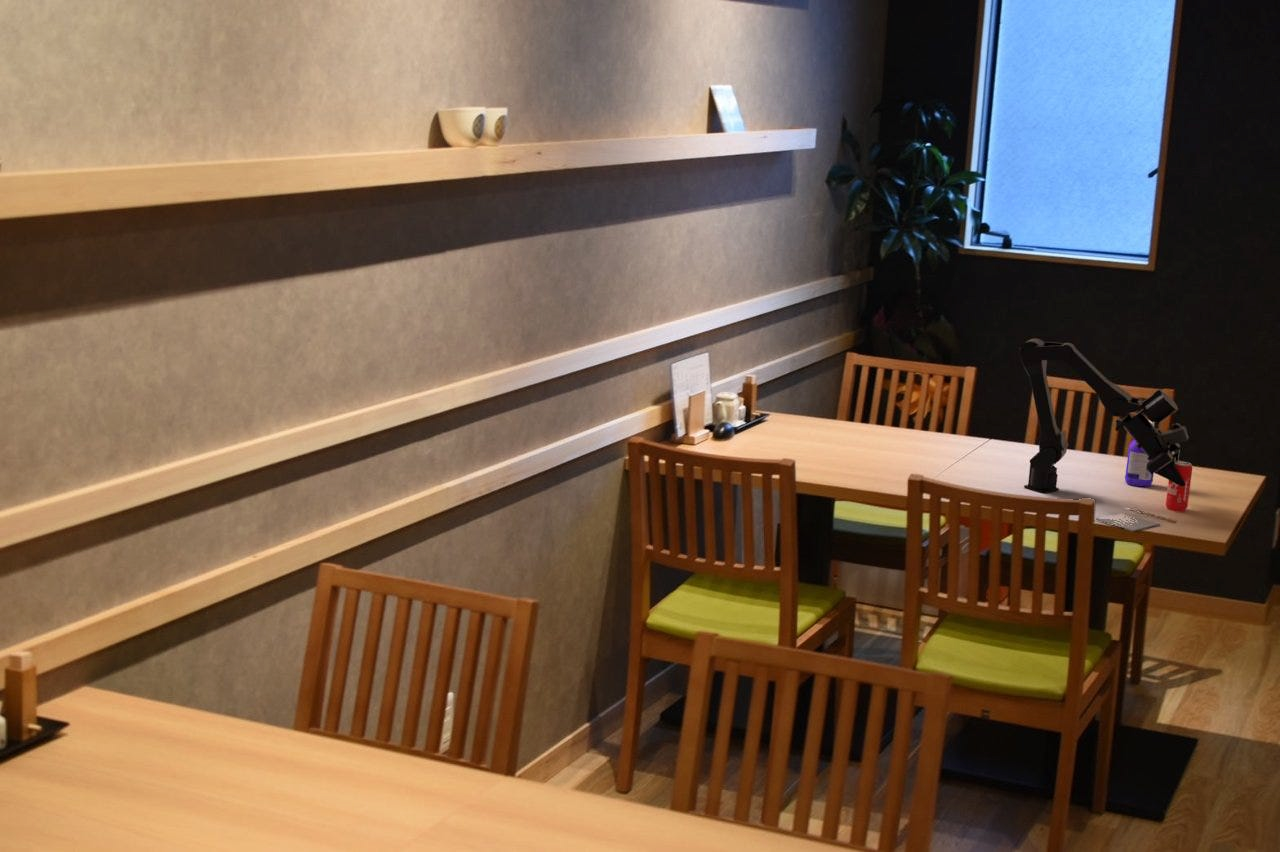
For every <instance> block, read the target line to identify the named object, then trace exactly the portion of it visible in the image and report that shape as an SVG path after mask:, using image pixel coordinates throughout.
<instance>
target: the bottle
mask: <svg viewBox="0 0 1280 852" xmlns="http://www.w3.org/2000/svg"><path fill="white" fill-rule="evenodd" d="M1148 420H1149V419H1148ZM1149 422H1150V423H1151V424H1152V425H1153V426H1154V427H1155V422H1151V421H1150V420H1149ZM1132 439H1133V438H1132ZM1147 458H1148V456H1147V455H1146V453H1145V452H1144V451H1143V450H1142V449H1141V448H1140V449H1139V448H1138V447H1137V443H1136V441H1135V440H1134V439H1133V440H1132V441H1131V442H1130V444H1129V446H1128V453H1127V459H1126V467H1125V468H1126V469H1125V476H1124V479H1125V483H1126V484H1127V485H1129V486H1135V485H1136V487H1142V486H1145V488H1148V487H1150V486H1151V485H1152V483H1153V481H1154V475H1155V472H1154V473H1153V474H1151V473H1150V472H1149V471H1148V470H1147V469H1146V468H1147V463H1148V461H1149V460H1148V459H1147Z"/></svg>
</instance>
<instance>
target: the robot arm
mask: <svg viewBox="0 0 1280 852" xmlns="http://www.w3.org/2000/svg"><path fill="white" fill-rule="evenodd" d="M1018 355H1019V358H1020V361H1021V363H1022V365H1023V368H1024V371H1026V373H1027V376H1028V378H1029V381H1030V382H1029V383H1030V385H1031V391H1032V396H1033V400H1034V406H1035V410H1036V415H1037V420H1038V426H1039V438H1038V439H1039V440H1038V441H1039V442H1038V449H1039V450H1038V452H1037V453H1036V454H1035V455H1034V456H1032V458H1030V459H1029V473H1028V481H1027V482H1028V483H1027V484H1026V485H1025V484H1024V485H1023V488H1025V489H1029V490H1032V491H1036V492H1039V493H1044V494H1045V493H1051V492H1054V491H1059V489H1060V488H1059V487H1057V483H1058V472H1057V470H1058V467H1056V464H1057V463H1058V462H1060V460H1061V459H1062V458H1063V457H1064V456H1065V455H1066V454H1067V451H1068V447H1069V445H1070V444H1069V443H1068V441H1067V440H1068V439H1067V432H1066V430H1063V431H1061V430H1060V429H1059V426H1058V425H1057V421H1056V417H1055V411H1054V406H1053V401H1052V396H1051V390H1050V387H1049V381H1048V375H1047V366H1048V365H1047V364H1048V361H1055V360H1063V361H1064V363H1066V365H1068V366H1069V367H1070V368H1071V369H1072V370H1073V372H1075V373H1076V374H1077V375H1078V376H1079V377H1080V379H1082V380H1083V381H1084V382H1085V383H1086V384H1087V385H1088V386H1089V387H1090V388H1091V389H1092V391H1094V392H1095V393H1096V395H1097V397H1098V398H1099V401H1100V402H1101V404H1102V405H1103V407H1104V408H1105V410H1106V411H1107V412H1108V414H1109V415H1111V416H1112V417H1116V418H1117V417H1119V418H1117V419H1116V420H1115V429H1114V430H1115V431H1116V432H1118V431H1120V430H1121V429H1122V428H1124V430H1125V431H1126V432H1127V434H1128V435H1129V436H1130V437H1132V439H1134V440H1135V441H1136V443H1137V447H1138V448H1139V449H1140V448H1141V449H1142V450H1143V451H1144V452H1145V453H1146V455H1147V456H1148V458H1147V459H1148V460H1149V461H1148V463H1147V468H1146V469H1147V470H1148V471H1149V472H1150V473H1151V474H1153V473H1154V475H1155V474H1156V475H1158V476H1160V477H1163V478H1165V479H1166V480H1167V481H1169V480H1170V481H1172V482H1174V483H1176V484H1178V485H1180V486H1184V485H1185V482H1184V480H1183V478H1182V476H1181V475H1180V473H1179V471H1178V470H1177V468H1176V466H1175V461H1180V459H1179V458H1180V454H1181V453H1180V452H1181V450H1180V449H1179V448H1180V447H1181V445H1180V443H1185V442H1188V441H1189V440H1188V439H1190V437H1189V434H1188V429H1187V428H1186V426H1185V425H1181V424H1180V423H1178V422H1176V423H1173V424H1172V425H1171V429H1168V430H1167V431H1164V432H1163V431H1162V430H1161V428H1156V427H1155V425H1154V426H1153V425H1152V424H1151V423H1150V422H1149V420H1150V421H1151V422H1154V423H1158V424H1160V423H1162V422H1163V421H1164V420H1166V419H1167V418H1168V417H1170V416H1171V415H1172V414H1174V413H1176V412H1177V411H1178V410H1179V408H1178V405H1177V403H1176V402H1175V401H1174V400H1173V398H1172V397H1171V396H1169V395H1168V394H1167V393H1165V391H1163V390H1162V389H1161V388H1159V389H1157V390H1156V391H1155V392H1154V393H1153V394H1152V395H1150V396H1148V398H1146V399H1142V398H1138V397H1134V396H1132V395H1131V394H1130V392H1128V391H1126V390H1125V389H1123V388H1122V387H1120V386H1119V385H1117V384H1116V383H1113V382H1112V381H1110V380H1108V379H1107V378H1106V377H1105V376H1104V375H1103V373H1101V372H1100V371H1099V370H1098V369H1097V368H1096V367H1095V366H1094V365H1093V364H1092V363H1091V362H1090V361H1089V360H1088V358H1086V357H1085V356H1084V354H1083V353H1081V352H1080V351H1079V349H1077V348H1076V346H1075V345H1074V344H1073V343H1072V342H1071V343H1070V342H1063V343H1062V342H1054V341H1053V342H1052V341H1050V342H1049V341H1043V340H1042V339H1039V338H1031V339H1028V340H1027V341H1025V342H1024V343H1023V344H1021V346H1020V347H1019V350H1018ZM1140 409H1141V410H1140ZM1139 410H1140V411H1139ZM1136 412H1137V413H1136ZM1127 413H1129V414H1128V415H1126V414H1127ZM1134 413H1135V414H1134ZM1125 415H1126V416H1125ZM1123 416H1125V417H1123ZM1120 417H1123V418H1120ZM1175 450H1177V451H1175Z"/></svg>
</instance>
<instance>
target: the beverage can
mask: <svg viewBox="0 0 1280 852" xmlns="http://www.w3.org/2000/svg"><path fill="white" fill-rule="evenodd" d="M1175 466H1176V468H1177V470H1178V471H1179V473H1180V475H1181V476H1182V478H1183V480H1184V482H1185V485H1184V486H1180V485H1178V484H1176V483H1174V482H1172V481H1170V480H1168V482H1167V483H1168V485H1167V491H1166V498H1165V506H1166V510H1168V511H1171V512H1174V513H1175V512H1176V513H1182V512H1183V513H1184V512H1186V510H1187V508H1188V506H1189V497H1190V490H1191V482H1192V481H1191V480H1192V474H1193V464H1192V463H1191V462H1188V461H1183V460H1179V461H1175Z"/></svg>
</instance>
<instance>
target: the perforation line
mask: <svg viewBox="0 0 1280 852" xmlns="http://www.w3.org/2000/svg"><path fill="white" fill-rule="evenodd" d="M1128 507H1129V508H1131V509H1134V508H1133V507H1130V506H1128ZM1135 510H1136V511H1139V512H1141V513H1143V512H1144V513H1145V514H1148V515H1151V516H1154V517H1155V518H1156V519H1158V518H1159V520H1164V521H1165V520H1166V522H1170V523H1172V524H1175V523H1177V520H1175V519H1172V518H1167V519H1166V517H1164V516H1160V515H1157V516H1156V514H1154V513H1151V512H1145V511H1144V510H1140V509H1135ZM1141 513H1140V514H1141ZM1144 513H1143V514H1144ZM1148 515H1147V516H1148ZM1151 516H1150V517H1151Z"/></svg>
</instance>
